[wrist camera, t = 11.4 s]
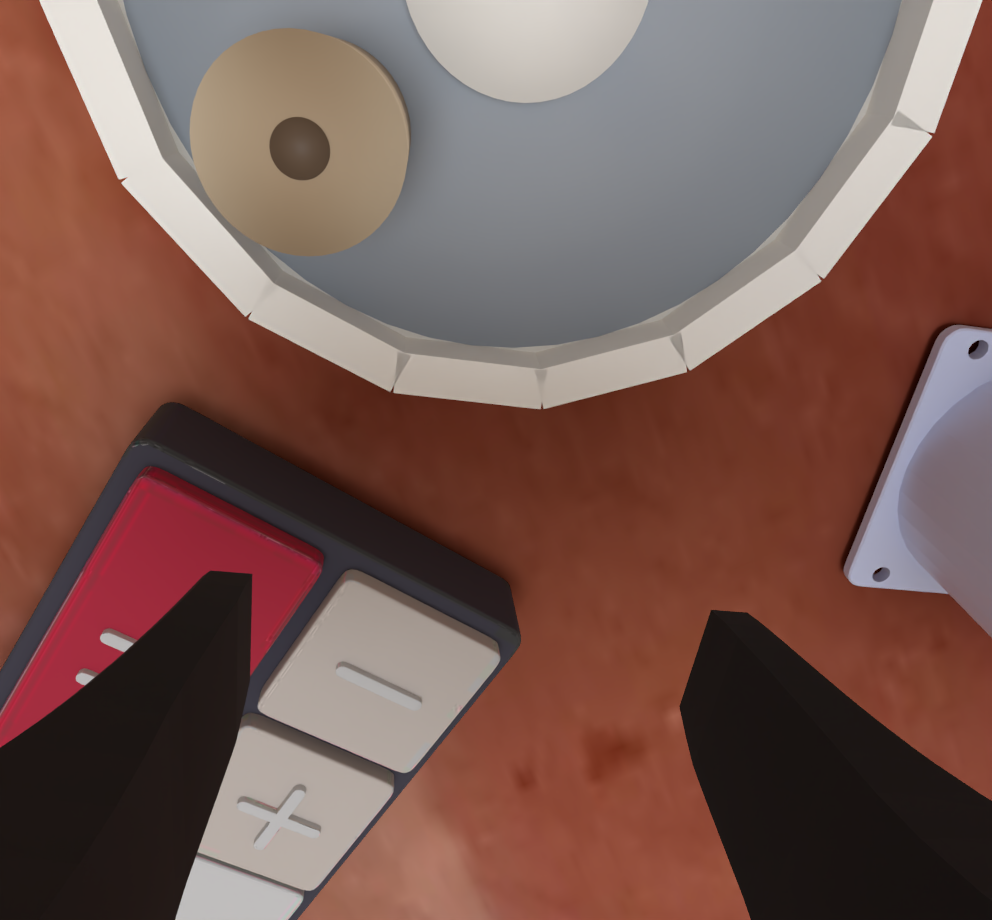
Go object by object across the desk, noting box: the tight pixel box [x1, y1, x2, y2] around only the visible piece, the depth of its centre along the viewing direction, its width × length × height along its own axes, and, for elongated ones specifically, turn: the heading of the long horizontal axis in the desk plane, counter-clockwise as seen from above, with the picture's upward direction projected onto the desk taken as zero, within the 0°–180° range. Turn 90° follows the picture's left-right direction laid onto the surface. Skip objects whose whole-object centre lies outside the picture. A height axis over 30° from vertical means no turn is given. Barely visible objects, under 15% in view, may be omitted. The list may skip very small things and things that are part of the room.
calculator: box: [0, 402, 521, 920], centre depth 23 cm, size 11×4×15 cm
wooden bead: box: [190, 28, 411, 256], centre depth 15 cm, size 4×4×4 cm
